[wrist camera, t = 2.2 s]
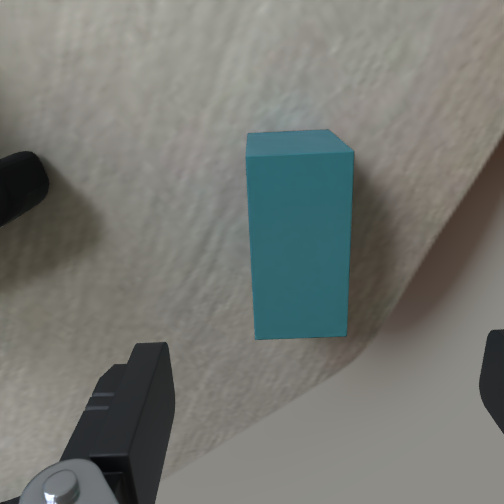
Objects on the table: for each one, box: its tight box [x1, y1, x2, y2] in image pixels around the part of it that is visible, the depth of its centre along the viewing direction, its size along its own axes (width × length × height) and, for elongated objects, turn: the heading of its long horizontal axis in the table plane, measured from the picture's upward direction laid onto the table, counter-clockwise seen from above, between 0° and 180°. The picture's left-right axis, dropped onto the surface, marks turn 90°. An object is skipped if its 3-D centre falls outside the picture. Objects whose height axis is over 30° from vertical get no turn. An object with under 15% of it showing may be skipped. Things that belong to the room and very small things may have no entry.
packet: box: [246, 129, 354, 340], centre depth 21 cm, size 4×8×6 cm, turn 3°
